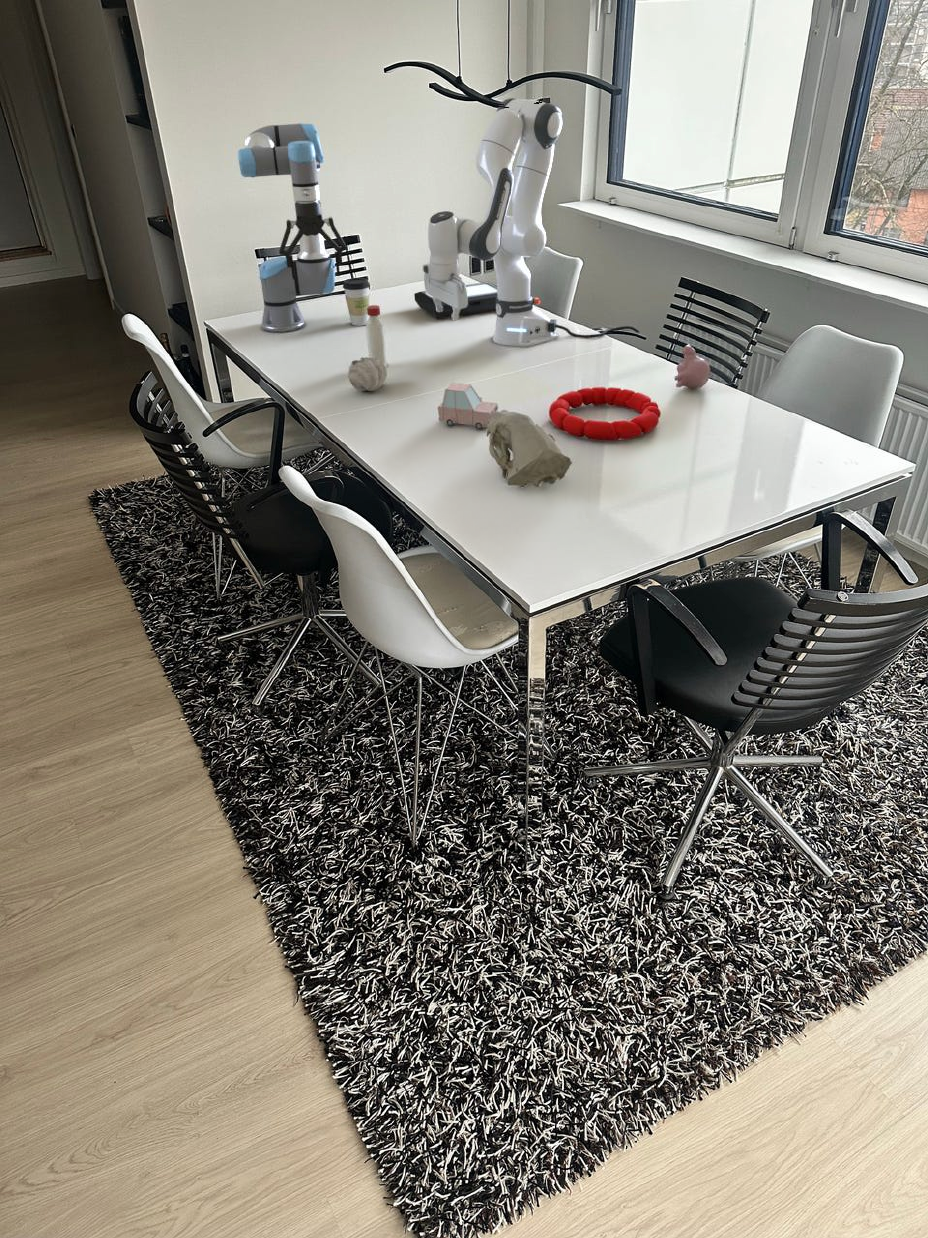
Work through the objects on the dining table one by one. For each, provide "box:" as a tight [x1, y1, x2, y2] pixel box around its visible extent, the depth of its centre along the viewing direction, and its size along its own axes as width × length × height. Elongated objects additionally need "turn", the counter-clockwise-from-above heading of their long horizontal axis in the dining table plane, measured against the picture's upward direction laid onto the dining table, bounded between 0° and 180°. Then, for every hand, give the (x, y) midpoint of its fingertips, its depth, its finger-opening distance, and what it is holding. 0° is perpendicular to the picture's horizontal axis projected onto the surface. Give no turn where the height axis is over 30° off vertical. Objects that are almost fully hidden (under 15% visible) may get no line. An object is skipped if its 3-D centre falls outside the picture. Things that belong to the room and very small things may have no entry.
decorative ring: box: [548, 386, 661, 442], centre depth 242 cm, size 7×30×30 cm
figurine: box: [674, 344, 711, 390], centre depth 259 cm, size 9×11×12 cm
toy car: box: [437, 382, 499, 431], centre depth 243 cm, size 9×15×10 cm, turn 70°
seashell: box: [347, 356, 388, 392], centre depth 266 cm, size 10×15×10 cm
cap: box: [367, 304, 381, 317], centre depth 278 cm, size 4×4×2 cm
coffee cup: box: [342, 277, 371, 327], centre depth 323 cm, size 10×10×15 cm
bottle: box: [365, 315, 388, 367], centre depth 282 cm, size 6×6×18 cm
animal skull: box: [485, 409, 573, 489], centre depth 216 cm, size 17×25×20 cm
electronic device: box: [413, 281, 497, 320], centre depth 337 cm, size 32×6×20 cm
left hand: (316, 276), depth 273 cm, fingers open, 13 cm apart
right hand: (447, 315), depth 280 cm, fingers open, 8 cm apart
